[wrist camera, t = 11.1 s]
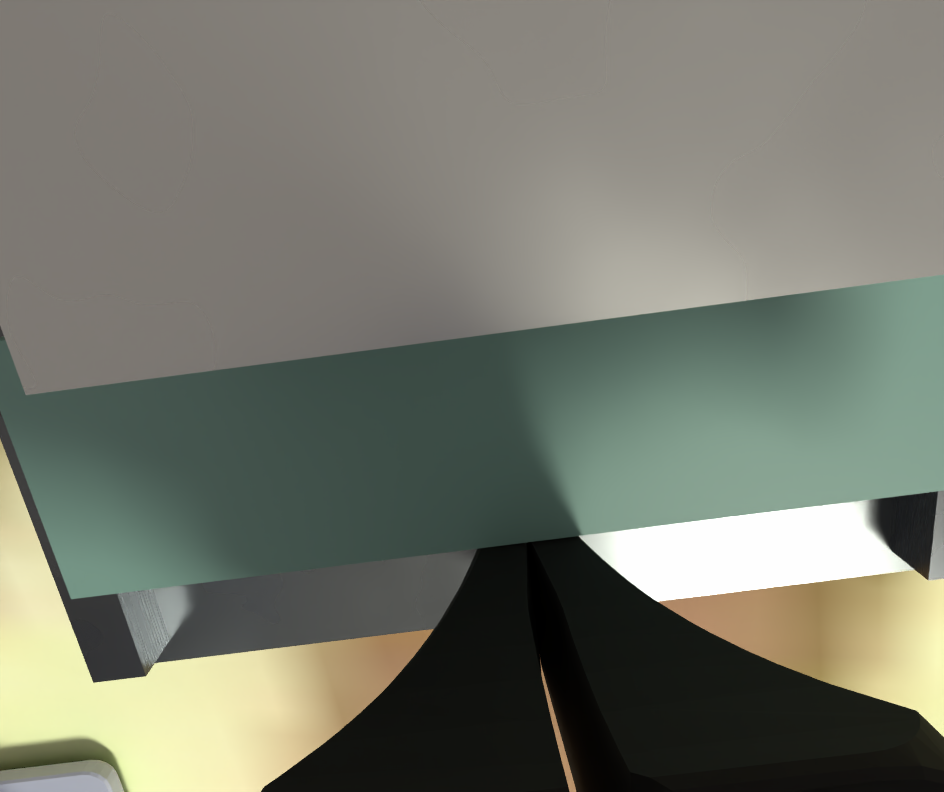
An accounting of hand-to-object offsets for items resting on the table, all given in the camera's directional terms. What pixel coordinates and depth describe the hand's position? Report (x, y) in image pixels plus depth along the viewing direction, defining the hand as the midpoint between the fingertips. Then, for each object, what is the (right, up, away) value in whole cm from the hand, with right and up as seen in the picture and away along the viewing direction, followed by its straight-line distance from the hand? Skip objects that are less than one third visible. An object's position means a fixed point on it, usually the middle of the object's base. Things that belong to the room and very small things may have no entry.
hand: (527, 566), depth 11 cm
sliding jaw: (0, +3, 0) cm, 3 cm away
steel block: (-1, +7, -1) cm, 7 cm away
